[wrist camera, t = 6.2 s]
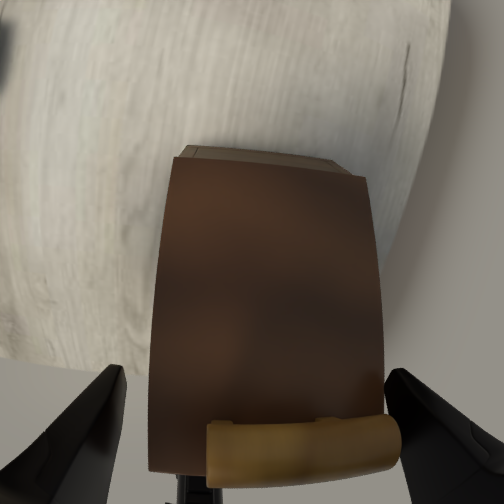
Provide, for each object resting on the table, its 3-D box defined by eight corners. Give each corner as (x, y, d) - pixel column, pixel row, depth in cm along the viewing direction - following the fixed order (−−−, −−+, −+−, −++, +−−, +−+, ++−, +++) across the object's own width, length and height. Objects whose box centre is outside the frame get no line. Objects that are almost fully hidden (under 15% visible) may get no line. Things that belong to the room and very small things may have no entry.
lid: (373, 457, 10) (452, 487, 6) (151, 466, 9) (118, 523, 5) (359, 184, 14) (411, 116, 10) (174, 165, 13) (166, 78, 9)
